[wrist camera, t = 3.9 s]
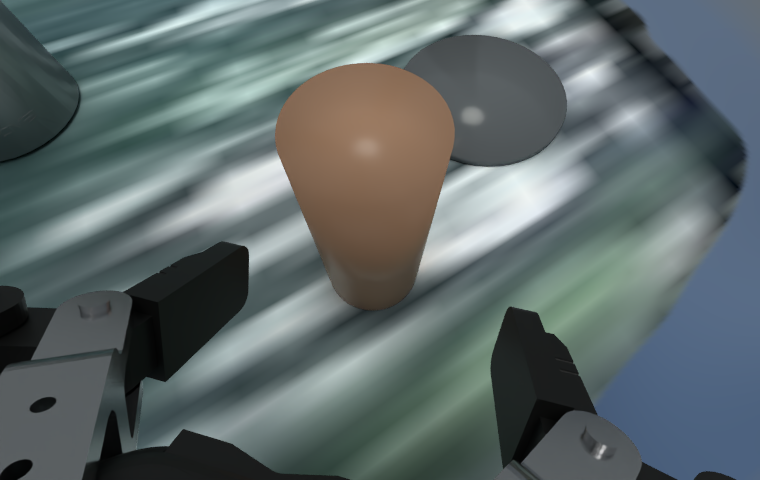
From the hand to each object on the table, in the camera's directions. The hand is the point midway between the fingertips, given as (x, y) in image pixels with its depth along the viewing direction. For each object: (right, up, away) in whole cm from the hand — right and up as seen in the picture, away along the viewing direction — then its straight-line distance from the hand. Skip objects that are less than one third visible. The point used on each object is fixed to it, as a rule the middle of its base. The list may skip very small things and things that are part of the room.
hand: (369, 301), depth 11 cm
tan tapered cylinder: (0, 0, +11) cm, 10 cm away
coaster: (+8, +12, +16) cm, 21 cm away
